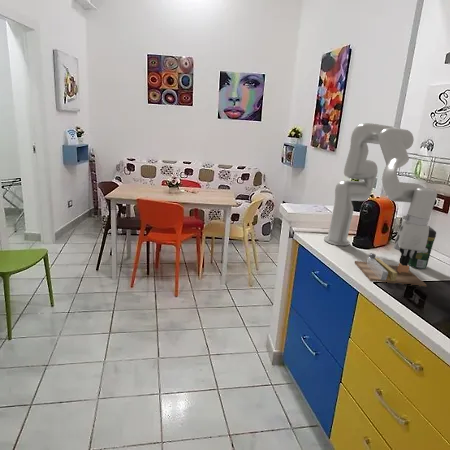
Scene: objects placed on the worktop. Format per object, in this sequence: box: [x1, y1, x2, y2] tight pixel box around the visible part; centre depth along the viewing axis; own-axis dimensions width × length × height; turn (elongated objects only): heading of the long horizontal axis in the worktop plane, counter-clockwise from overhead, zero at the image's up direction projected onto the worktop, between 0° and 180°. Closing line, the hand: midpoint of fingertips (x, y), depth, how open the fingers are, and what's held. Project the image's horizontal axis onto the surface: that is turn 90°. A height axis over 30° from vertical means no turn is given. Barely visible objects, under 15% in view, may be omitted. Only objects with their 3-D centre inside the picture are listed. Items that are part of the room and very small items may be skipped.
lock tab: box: [397, 262, 410, 274], centre depth 145 cm, size 3×3×4 cm
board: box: [354, 260, 427, 288], centre depth 144 cm, size 18×22×2 cm
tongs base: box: [366, 252, 388, 281], centre depth 143 cm, size 18×3×4 cm, turn 179°
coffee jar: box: [408, 225, 437, 270], centre depth 156 cm, size 10×8×19 cm
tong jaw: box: [374, 257, 397, 281], centre depth 142 cm, size 15×2×4 cm, turn 3°
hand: (403, 264), depth 139 cm, fingers closed
